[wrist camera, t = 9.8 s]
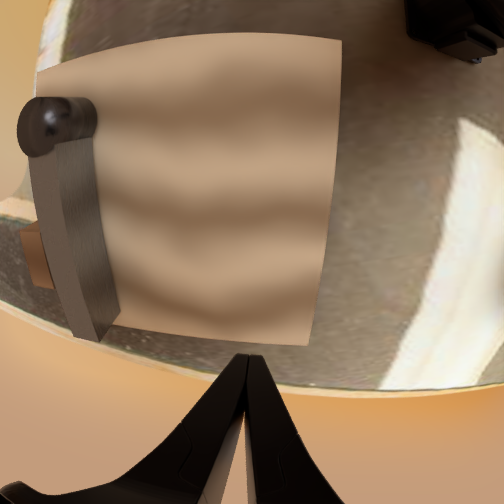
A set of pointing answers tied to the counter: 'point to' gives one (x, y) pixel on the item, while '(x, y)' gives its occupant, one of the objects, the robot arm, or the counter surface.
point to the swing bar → (70, 209)
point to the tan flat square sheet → (213, 178)
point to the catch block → (36, 256)
